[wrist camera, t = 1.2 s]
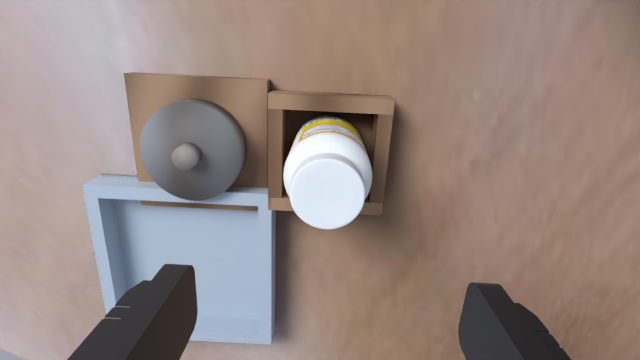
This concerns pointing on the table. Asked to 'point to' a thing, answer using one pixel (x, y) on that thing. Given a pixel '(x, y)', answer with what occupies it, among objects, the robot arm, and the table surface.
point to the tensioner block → (234, 136)
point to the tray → (189, 252)
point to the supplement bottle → (327, 172)
